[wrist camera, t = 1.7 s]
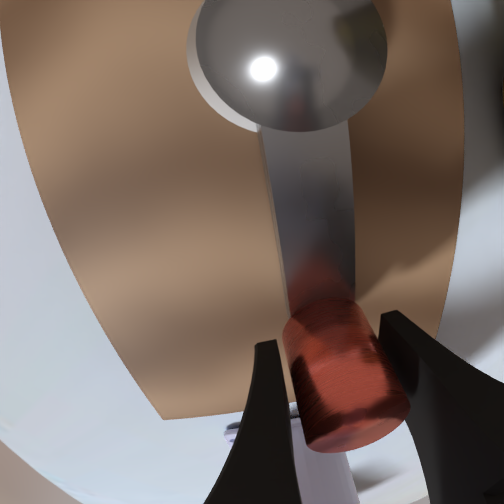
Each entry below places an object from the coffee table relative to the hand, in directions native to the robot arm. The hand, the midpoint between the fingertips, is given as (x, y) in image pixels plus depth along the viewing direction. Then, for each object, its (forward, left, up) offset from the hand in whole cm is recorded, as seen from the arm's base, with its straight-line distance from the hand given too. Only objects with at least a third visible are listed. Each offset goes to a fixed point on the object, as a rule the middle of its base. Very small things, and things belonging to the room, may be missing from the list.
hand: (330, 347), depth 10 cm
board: (+5, -6, -4) cm, 8 cm away
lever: (+8, 0, -2) cm, 8 cm away
